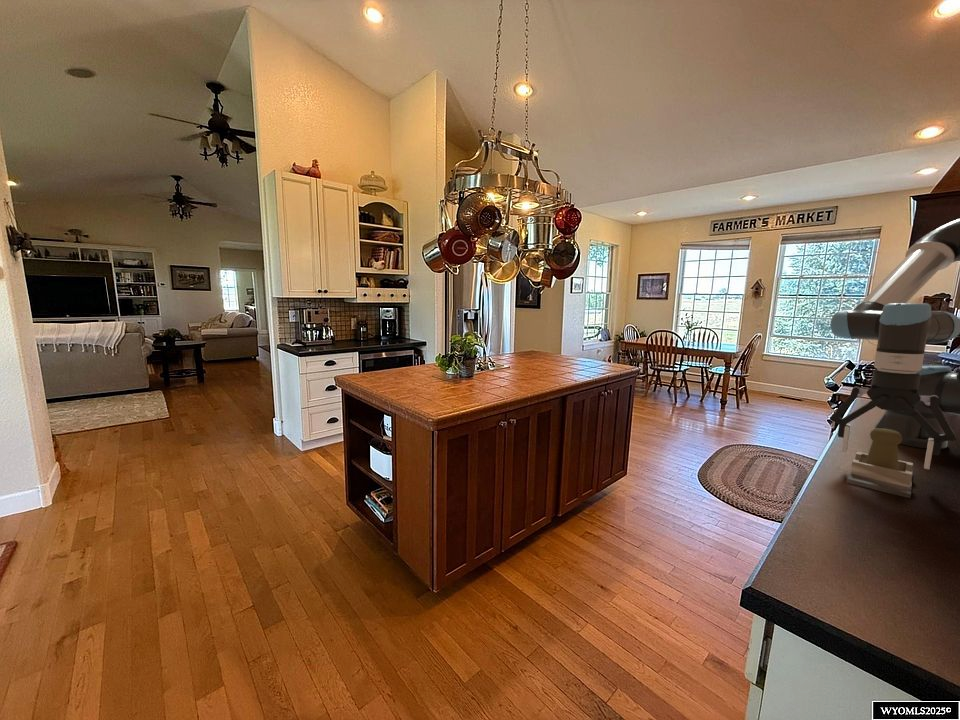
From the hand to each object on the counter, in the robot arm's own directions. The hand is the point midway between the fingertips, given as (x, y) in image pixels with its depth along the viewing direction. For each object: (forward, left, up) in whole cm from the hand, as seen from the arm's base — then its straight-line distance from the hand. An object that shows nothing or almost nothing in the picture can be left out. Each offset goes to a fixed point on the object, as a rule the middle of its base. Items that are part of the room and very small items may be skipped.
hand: (883, 458), depth 92 cm
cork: (0, 0, -4) cm, 4 cm away
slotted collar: (0, 0, -5) cm, 5 cm away
